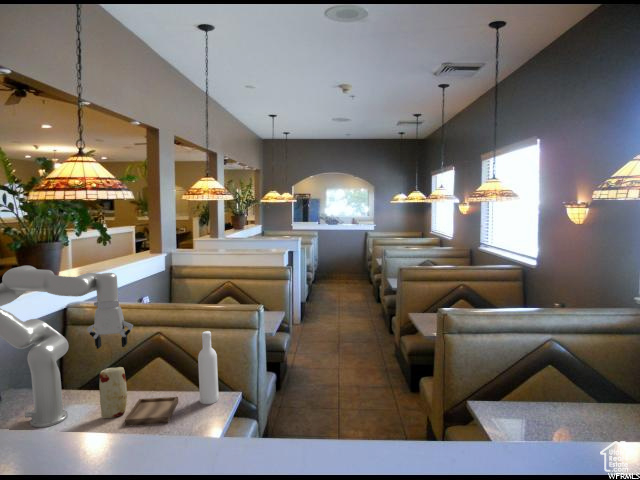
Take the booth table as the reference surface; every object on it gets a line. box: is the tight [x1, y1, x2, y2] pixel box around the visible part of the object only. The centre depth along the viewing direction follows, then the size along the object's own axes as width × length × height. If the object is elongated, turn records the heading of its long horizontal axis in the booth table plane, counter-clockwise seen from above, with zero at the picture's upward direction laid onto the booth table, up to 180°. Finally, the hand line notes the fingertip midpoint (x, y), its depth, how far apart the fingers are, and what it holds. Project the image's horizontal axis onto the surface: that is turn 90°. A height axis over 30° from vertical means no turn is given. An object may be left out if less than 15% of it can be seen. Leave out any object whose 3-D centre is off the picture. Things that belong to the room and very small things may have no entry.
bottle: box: [197, 330, 220, 405], centre depth 188 cm, size 8×8×30 cm
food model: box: [98, 366, 128, 419], centre depth 176 cm, size 10×7×20 cm
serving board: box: [124, 396, 179, 427], centre depth 178 cm, size 16×18×2 cm
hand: (111, 346), depth 174 cm, fingers open, 9 cm apart
